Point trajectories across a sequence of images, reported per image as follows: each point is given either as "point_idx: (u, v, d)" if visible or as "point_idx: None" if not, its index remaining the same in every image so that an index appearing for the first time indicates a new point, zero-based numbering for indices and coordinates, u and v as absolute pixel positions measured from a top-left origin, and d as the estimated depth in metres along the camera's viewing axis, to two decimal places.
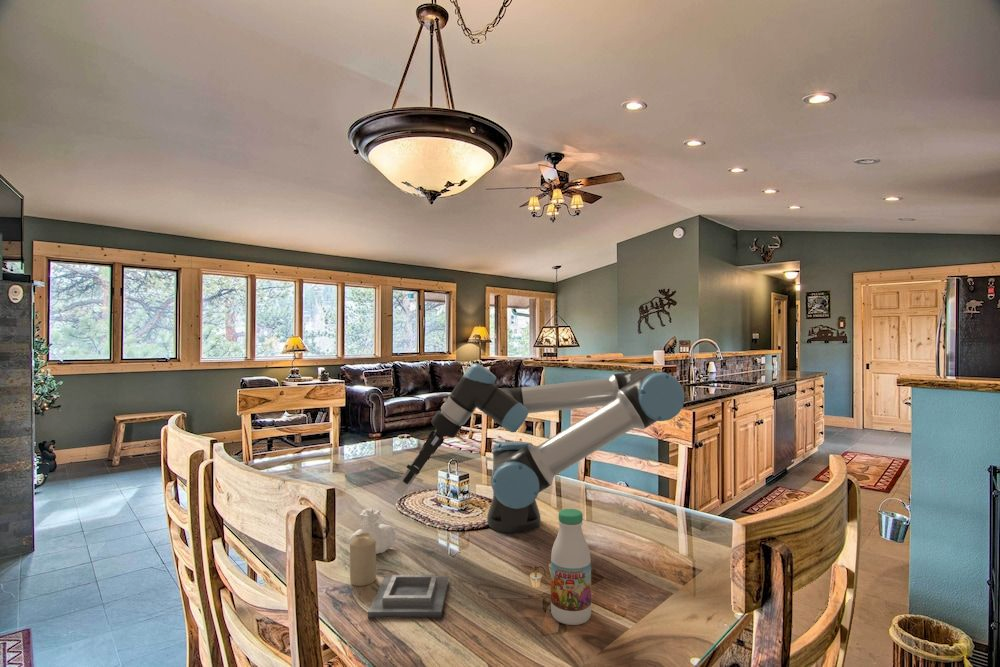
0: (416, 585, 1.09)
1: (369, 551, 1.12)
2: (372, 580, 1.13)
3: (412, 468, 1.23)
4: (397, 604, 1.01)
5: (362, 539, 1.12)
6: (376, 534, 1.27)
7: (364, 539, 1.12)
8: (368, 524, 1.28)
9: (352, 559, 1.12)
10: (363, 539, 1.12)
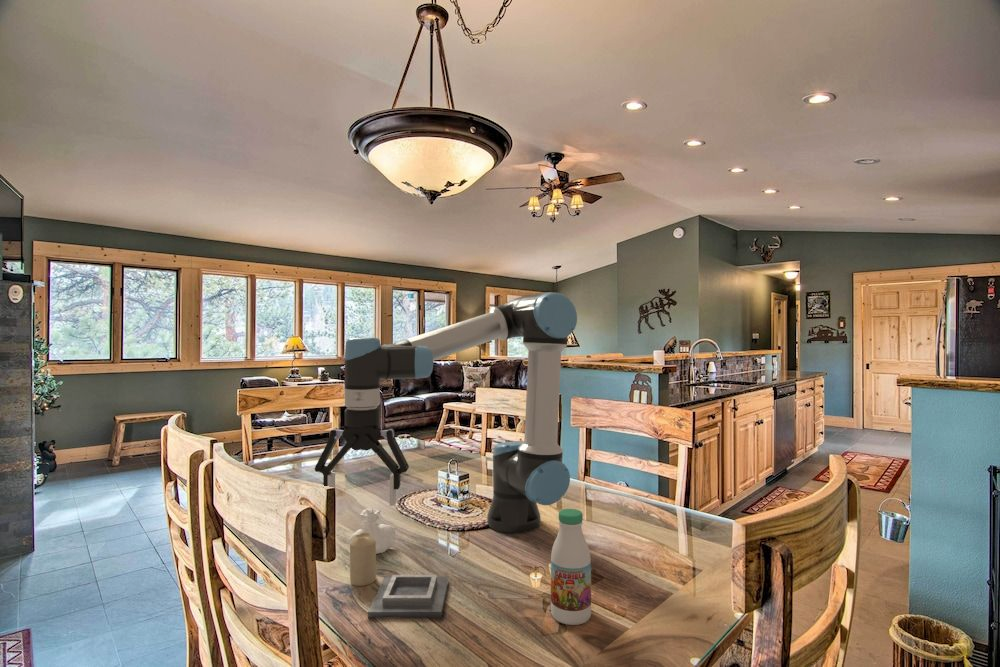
0: (416, 585, 1.09)
1: (369, 551, 1.12)
2: (372, 580, 1.13)
3: (407, 468, 1.13)
4: (397, 604, 1.01)
5: (362, 539, 1.12)
6: (377, 534, 1.27)
7: (364, 539, 1.12)
8: (368, 524, 1.28)
9: (352, 559, 1.12)
10: (363, 539, 1.12)
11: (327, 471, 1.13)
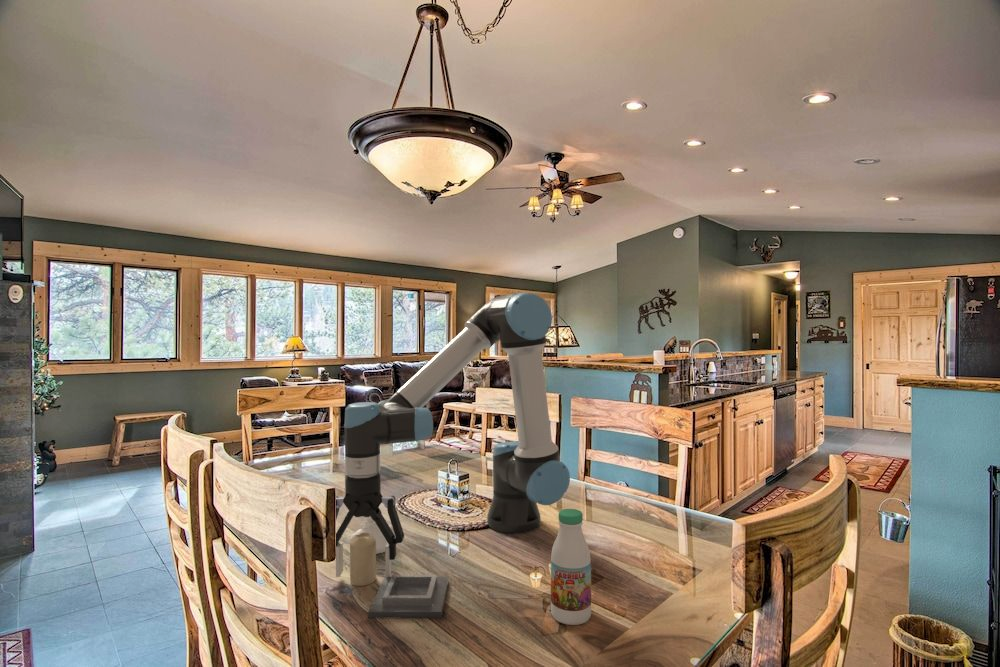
0: (416, 585, 1.09)
1: (369, 551, 1.12)
2: (372, 580, 1.13)
3: (402, 538, 1.13)
4: (397, 604, 1.01)
5: (362, 539, 1.12)
6: (377, 534, 1.27)
7: (364, 539, 1.12)
8: (368, 524, 1.28)
9: (352, 559, 1.12)
10: (363, 539, 1.12)
11: None
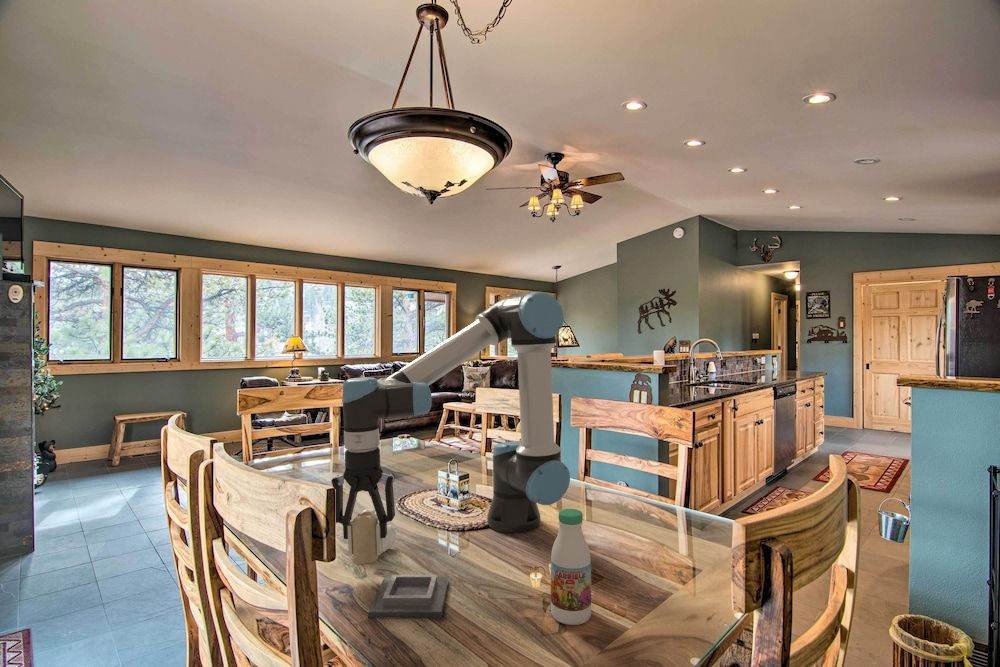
0: (416, 585, 1.09)
1: (371, 530, 1.12)
2: (375, 558, 1.13)
3: (393, 517, 1.13)
4: (397, 604, 1.01)
5: (364, 518, 1.12)
6: None
7: (366, 518, 1.13)
8: None
9: (354, 538, 1.12)
10: (365, 518, 1.12)
11: (346, 521, 1.13)
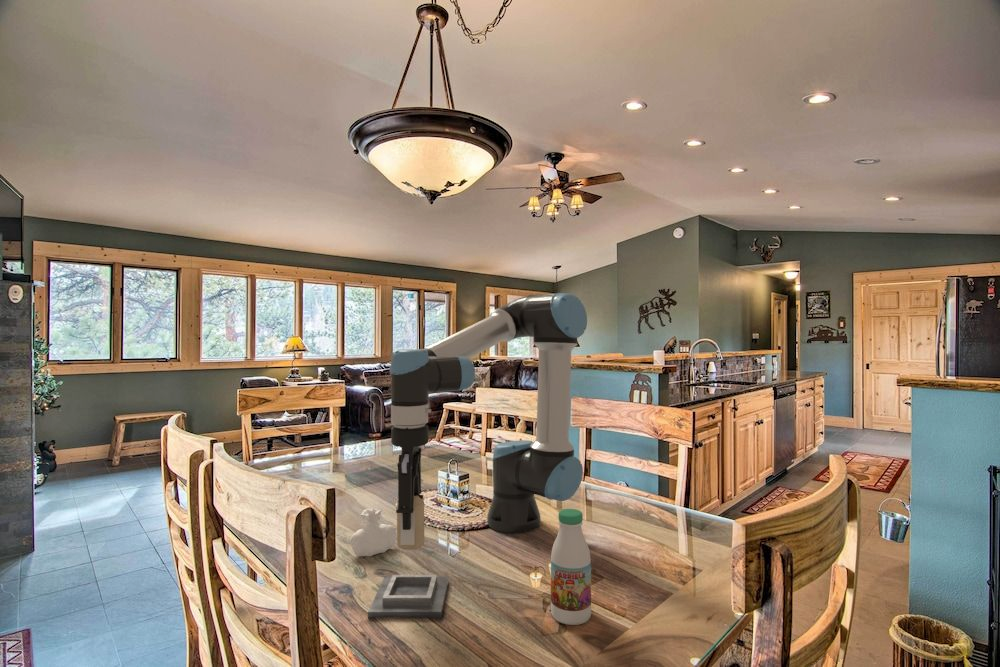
0: (416, 585, 1.09)
1: None
2: None
3: None
4: (397, 604, 1.01)
5: (418, 496, 1.06)
6: (377, 534, 1.27)
7: (418, 496, 1.06)
8: (369, 524, 1.28)
9: (419, 520, 1.04)
10: (418, 496, 1.06)
11: None
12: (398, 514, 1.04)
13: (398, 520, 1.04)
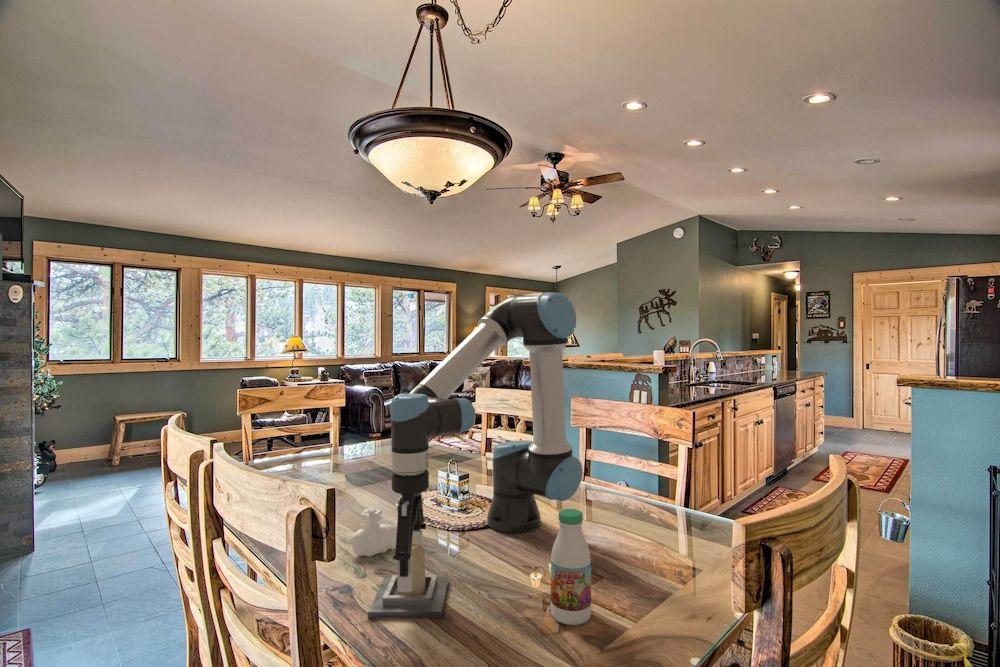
0: None
1: None
2: None
3: None
4: (397, 604, 1.01)
5: (419, 545, 1.06)
6: (378, 534, 1.27)
7: None
8: (369, 524, 1.28)
9: (420, 569, 1.04)
10: (419, 545, 1.06)
11: (410, 553, 0.99)
12: None
13: None
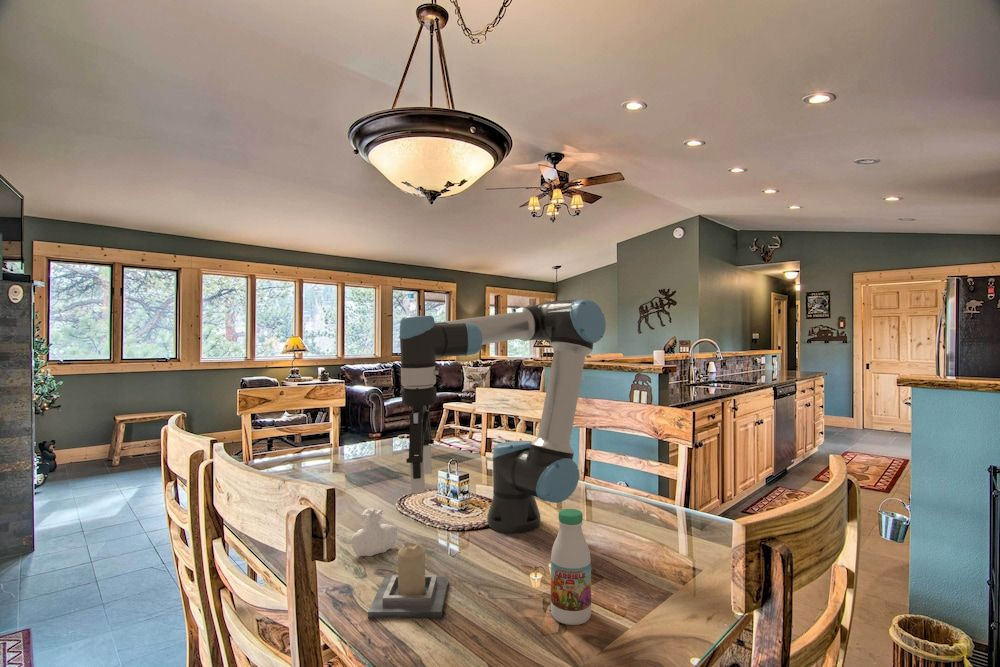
0: None
1: None
2: None
3: None
4: (397, 604, 1.01)
5: (419, 545, 1.06)
6: (378, 534, 1.27)
7: None
8: (370, 524, 1.28)
9: (420, 569, 1.04)
10: (419, 545, 1.06)
11: (422, 457, 1.06)
12: (399, 563, 1.04)
13: (399, 569, 1.04)
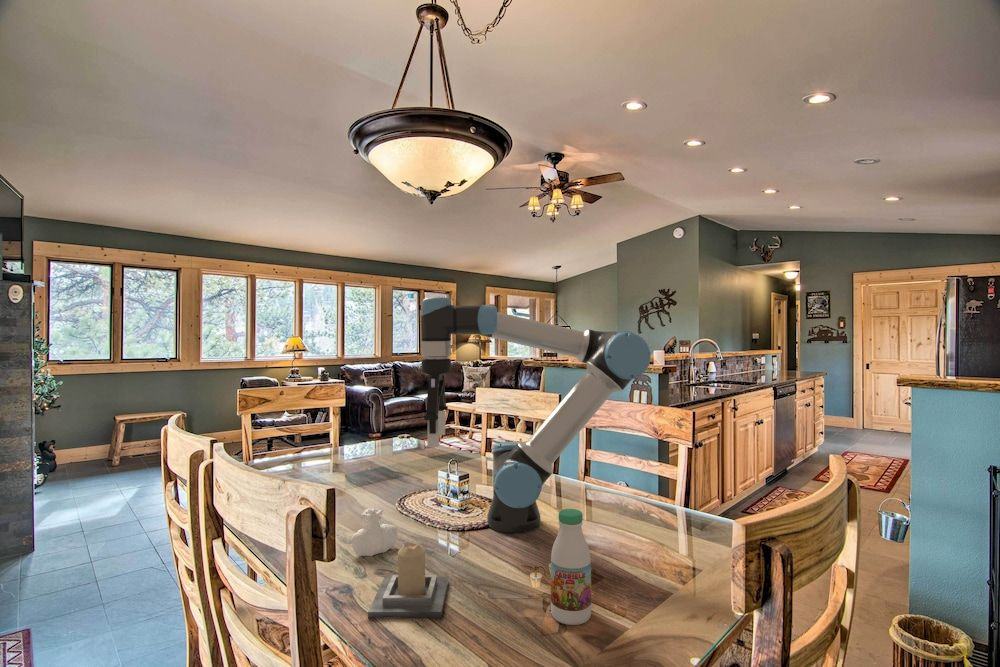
0: None
1: None
2: None
3: None
4: (397, 604, 1.01)
5: (419, 545, 1.06)
6: (378, 534, 1.27)
7: None
8: (370, 524, 1.28)
9: (420, 569, 1.04)
10: (419, 545, 1.06)
11: (437, 416, 1.25)
12: (399, 563, 1.04)
13: (399, 569, 1.04)
